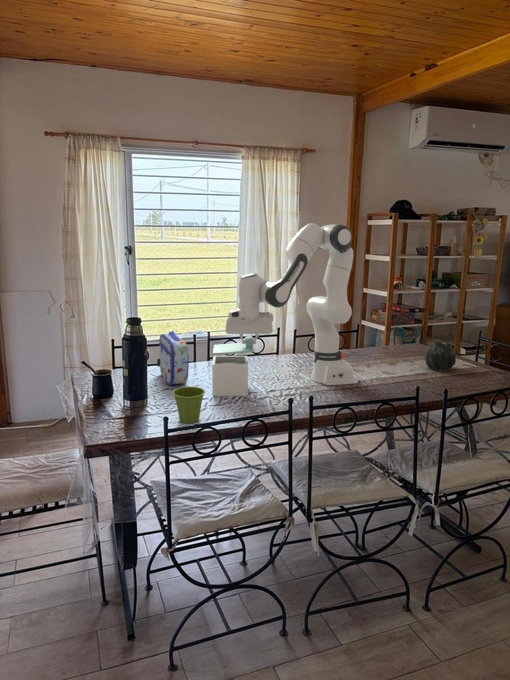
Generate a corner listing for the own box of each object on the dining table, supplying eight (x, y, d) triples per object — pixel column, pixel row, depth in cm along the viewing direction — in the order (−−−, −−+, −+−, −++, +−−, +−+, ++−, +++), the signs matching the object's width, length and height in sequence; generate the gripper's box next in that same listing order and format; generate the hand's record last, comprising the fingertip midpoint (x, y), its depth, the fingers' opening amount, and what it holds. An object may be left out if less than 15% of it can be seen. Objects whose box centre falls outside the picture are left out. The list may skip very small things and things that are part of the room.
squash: (466, 361, 253) (450, 335, 259) (448, 366, 245) (432, 340, 250) (446, 373, 264) (432, 349, 269) (428, 379, 256) (413, 354, 261)
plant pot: (167, 423, 185) (166, 394, 182) (183, 412, 195) (182, 385, 193) (196, 428, 181) (195, 398, 178) (210, 416, 191) (210, 388, 189)
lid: (252, 344, 225) (251, 333, 224) (253, 352, 211) (252, 341, 209) (214, 346, 225) (213, 335, 224) (212, 354, 210) (212, 343, 209)
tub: (246, 385, 229) (247, 355, 226) (247, 395, 215) (247, 364, 212) (213, 385, 228) (213, 355, 225) (212, 396, 215) (212, 364, 211)
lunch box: (156, 372, 248) (154, 328, 243) (176, 370, 251) (175, 327, 247) (169, 389, 223) (167, 340, 218) (191, 386, 227) (190, 339, 222)
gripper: (272, 310, 218) (272, 341, 221) (225, 310, 217) (225, 342, 220) (274, 313, 212) (273, 345, 215) (225, 313, 211) (225, 345, 214)
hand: (249, 343), depth 217 cm, fingers closed on lid, 3 cm apart
